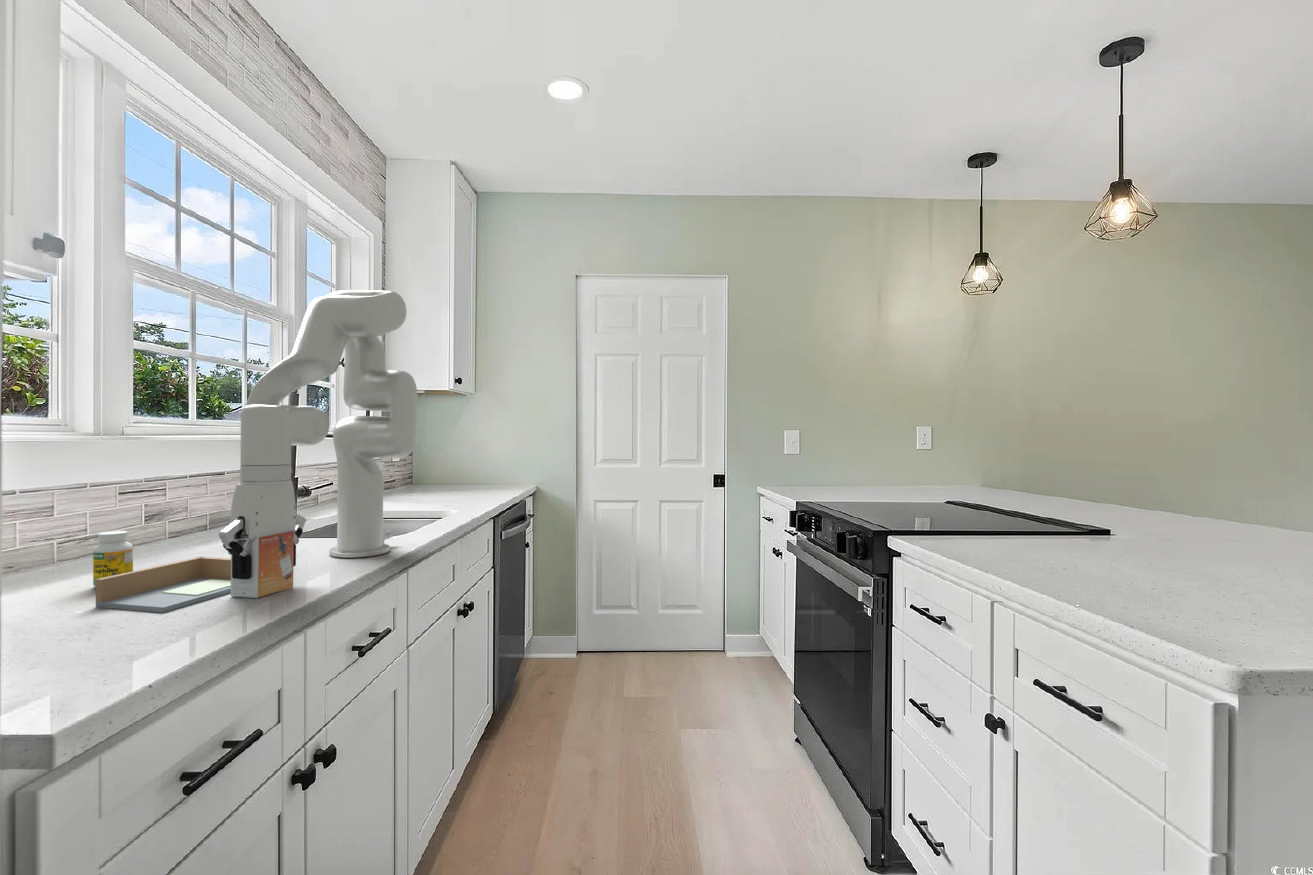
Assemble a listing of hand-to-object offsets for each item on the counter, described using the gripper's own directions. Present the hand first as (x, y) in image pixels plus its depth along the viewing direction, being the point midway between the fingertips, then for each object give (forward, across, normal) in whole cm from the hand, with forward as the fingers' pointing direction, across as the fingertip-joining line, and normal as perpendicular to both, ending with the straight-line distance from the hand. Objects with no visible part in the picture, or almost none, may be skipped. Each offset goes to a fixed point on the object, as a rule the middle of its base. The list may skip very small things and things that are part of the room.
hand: (265, 572), depth 106 cm
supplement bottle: (+4, +3, -29) cm, 29 cm away
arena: (+3, +5, -12) cm, 13 cm away
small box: (+4, 0, 0) cm, 4 cm away
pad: (+3, +3, -10) cm, 10 cm away
